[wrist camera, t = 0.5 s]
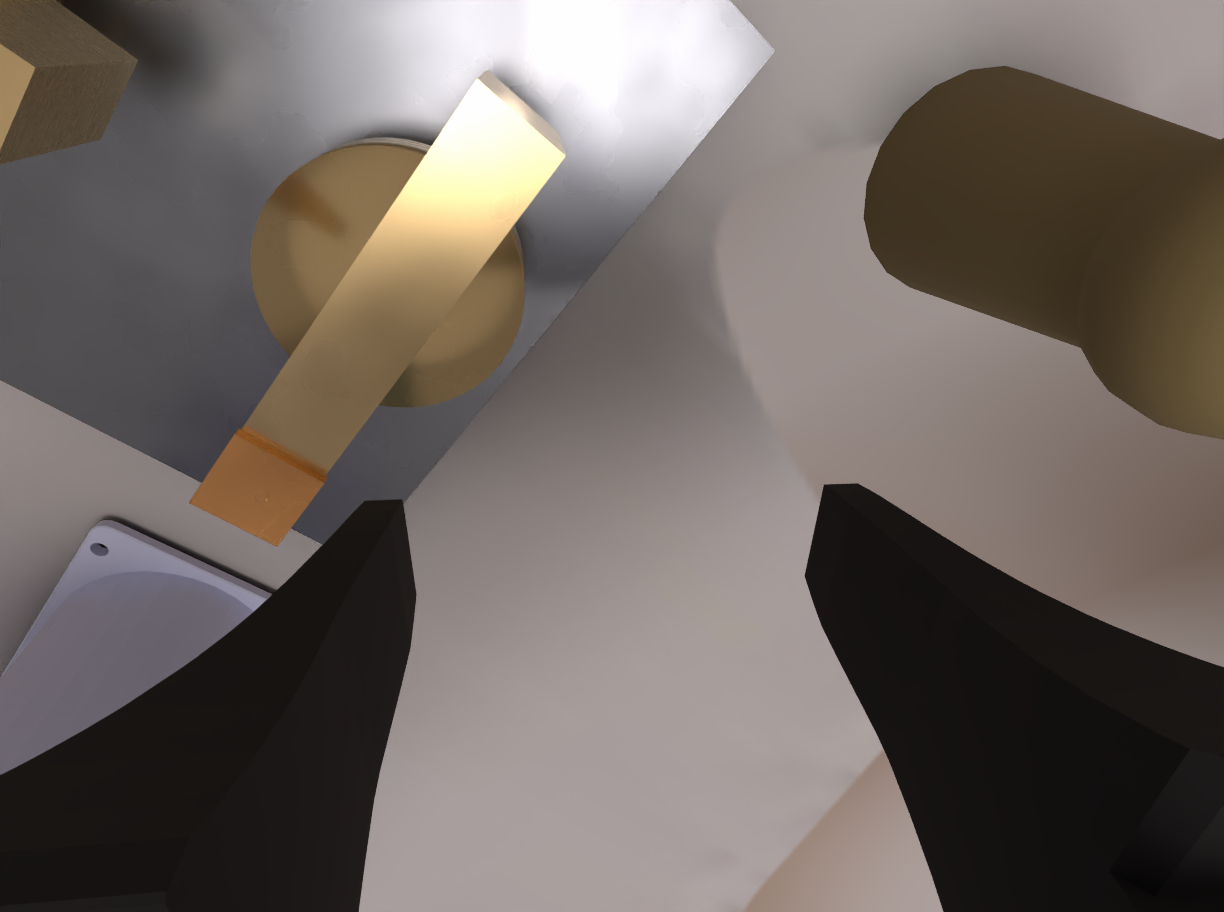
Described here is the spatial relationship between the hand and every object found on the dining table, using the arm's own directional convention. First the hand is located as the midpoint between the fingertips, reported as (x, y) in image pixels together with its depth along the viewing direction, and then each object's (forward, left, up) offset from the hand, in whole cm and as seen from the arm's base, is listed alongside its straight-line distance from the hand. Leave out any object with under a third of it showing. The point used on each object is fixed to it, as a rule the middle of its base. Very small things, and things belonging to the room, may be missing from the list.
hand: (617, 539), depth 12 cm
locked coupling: (-1, +5, -8) cm, 10 cm away
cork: (+10, -6, -10) cm, 16 cm away
